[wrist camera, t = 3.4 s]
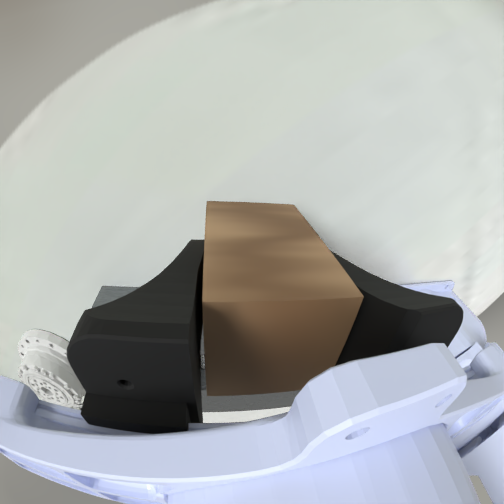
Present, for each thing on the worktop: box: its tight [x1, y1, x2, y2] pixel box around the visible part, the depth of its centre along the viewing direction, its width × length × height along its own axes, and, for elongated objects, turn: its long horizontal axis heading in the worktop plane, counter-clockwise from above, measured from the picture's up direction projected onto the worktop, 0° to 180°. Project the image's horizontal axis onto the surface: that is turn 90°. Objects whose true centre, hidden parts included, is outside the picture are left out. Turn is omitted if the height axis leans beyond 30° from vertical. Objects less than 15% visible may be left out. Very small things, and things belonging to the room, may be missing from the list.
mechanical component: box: [18, 329, 86, 408], centre depth 20 cm, size 10×4×10 cm
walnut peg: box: [202, 201, 364, 396], centre depth 10 cm, size 4×4×7 cm
